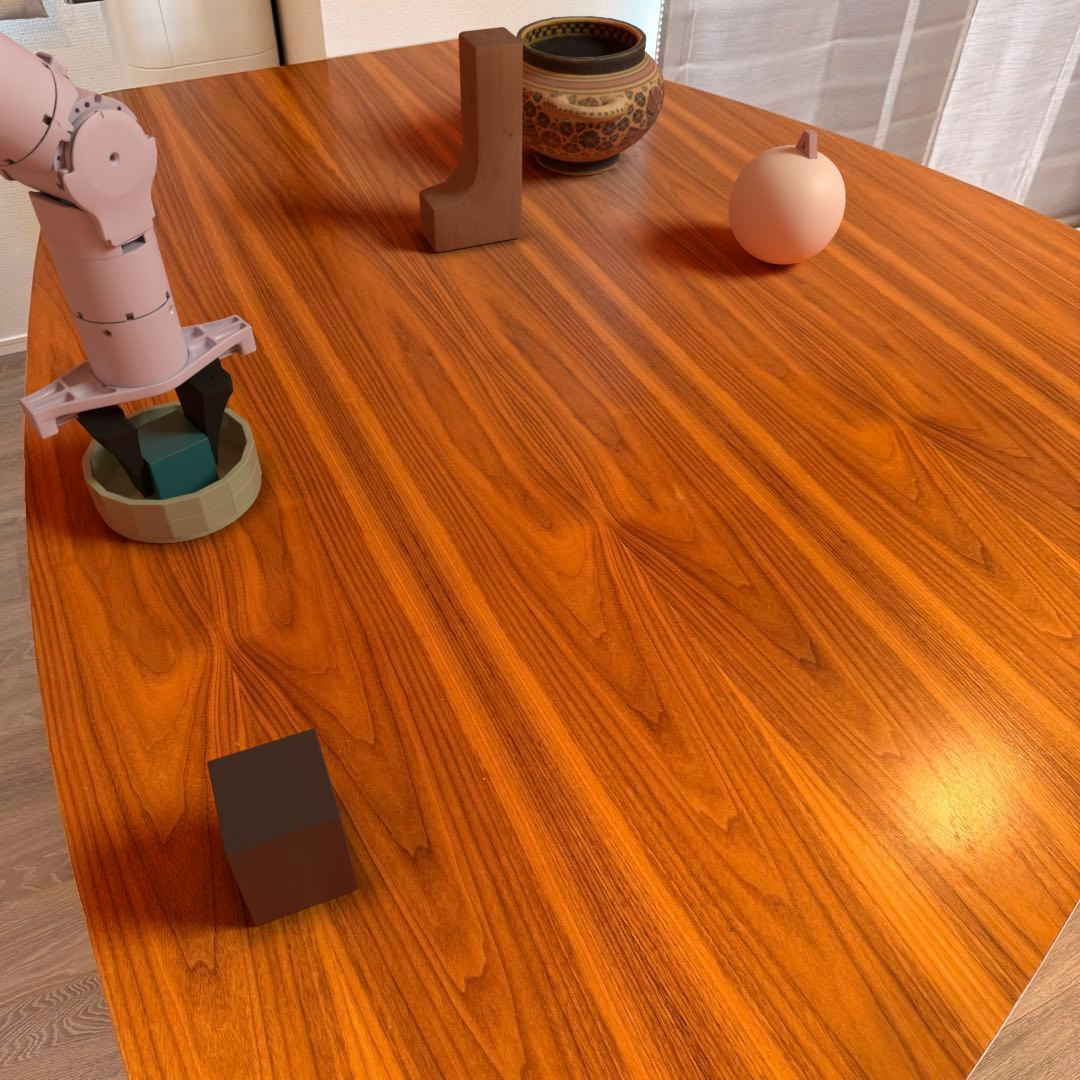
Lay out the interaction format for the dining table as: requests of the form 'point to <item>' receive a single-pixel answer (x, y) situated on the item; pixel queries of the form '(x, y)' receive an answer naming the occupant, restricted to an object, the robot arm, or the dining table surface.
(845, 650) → the dining table surface
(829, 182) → the ornament
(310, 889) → the dark brown block
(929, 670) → the dining table surface
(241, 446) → the dish
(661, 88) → the ceramic bowl
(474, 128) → the wooden block
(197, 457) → the teal block
